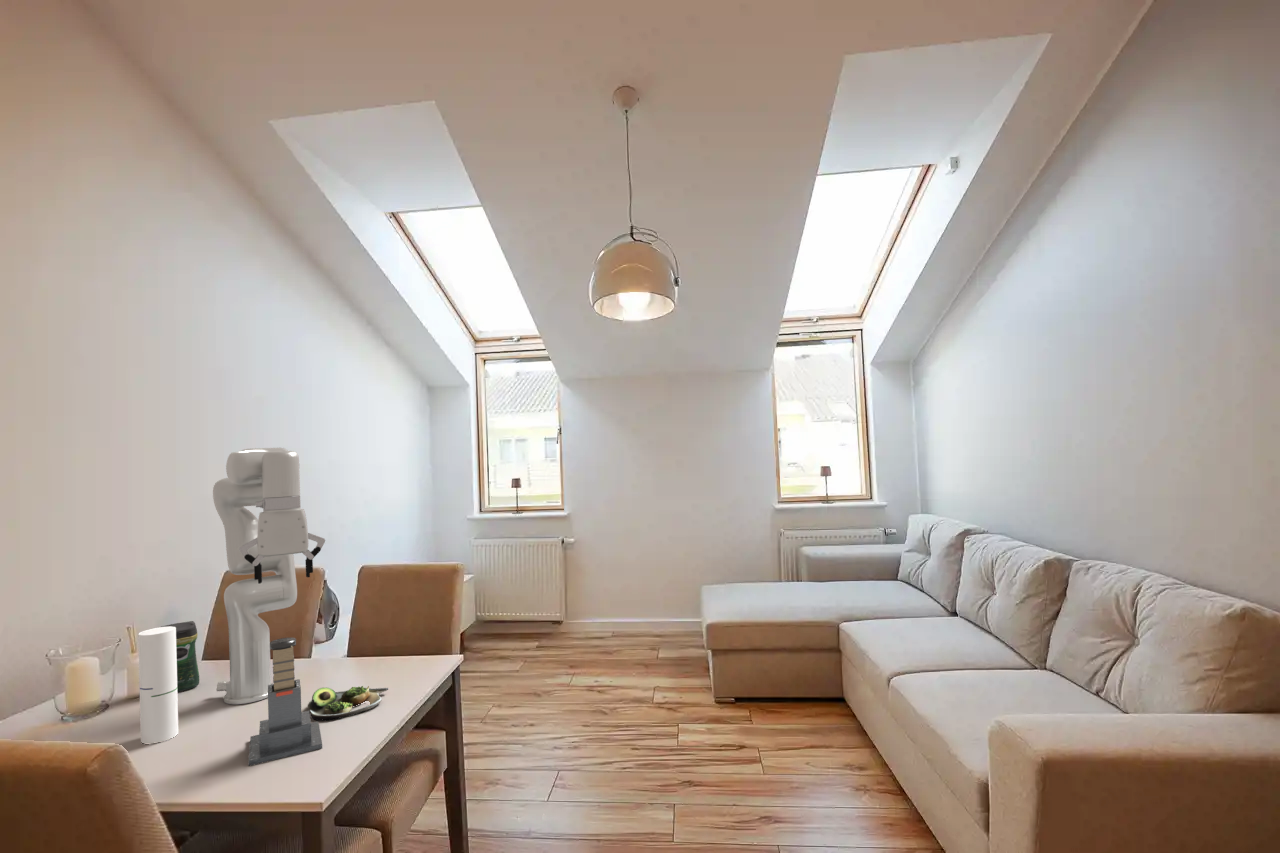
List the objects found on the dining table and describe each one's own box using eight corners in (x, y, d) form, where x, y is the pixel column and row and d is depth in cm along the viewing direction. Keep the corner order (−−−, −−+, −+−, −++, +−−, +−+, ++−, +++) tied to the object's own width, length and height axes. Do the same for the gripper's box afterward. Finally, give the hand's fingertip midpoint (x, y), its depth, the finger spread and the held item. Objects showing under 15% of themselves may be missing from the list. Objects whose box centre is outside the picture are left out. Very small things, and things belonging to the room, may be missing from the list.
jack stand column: (272, 746, 143) (269, 646, 143) (272, 737, 147) (269, 640, 148) (299, 740, 146) (296, 641, 146) (298, 731, 150) (295, 636, 151)
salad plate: (382, 686, 182) (381, 669, 182) (397, 706, 167) (396, 688, 167) (304, 704, 171) (304, 686, 171) (313, 727, 156) (312, 707, 156)
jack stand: (248, 766, 137) (246, 703, 137) (250, 740, 149) (249, 683, 149) (322, 748, 144) (320, 689, 144) (318, 725, 156) (316, 671, 156)
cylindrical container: (153, 732, 156) (151, 627, 157) (185, 729, 157) (182, 625, 158) (133, 745, 149) (130, 636, 150) (166, 743, 150) (163, 634, 150)
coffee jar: (198, 680, 191) (197, 617, 192) (200, 688, 185) (198, 622, 185) (157, 689, 185) (156, 624, 186) (158, 697, 179) (156, 629, 180)
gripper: (236, 509, 142) (239, 587, 141) (324, 502, 150) (327, 576, 150) (238, 507, 148) (240, 582, 148) (322, 500, 157) (325, 572, 156)
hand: (284, 579), depth 149 cm, fingers open, 9 cm apart
